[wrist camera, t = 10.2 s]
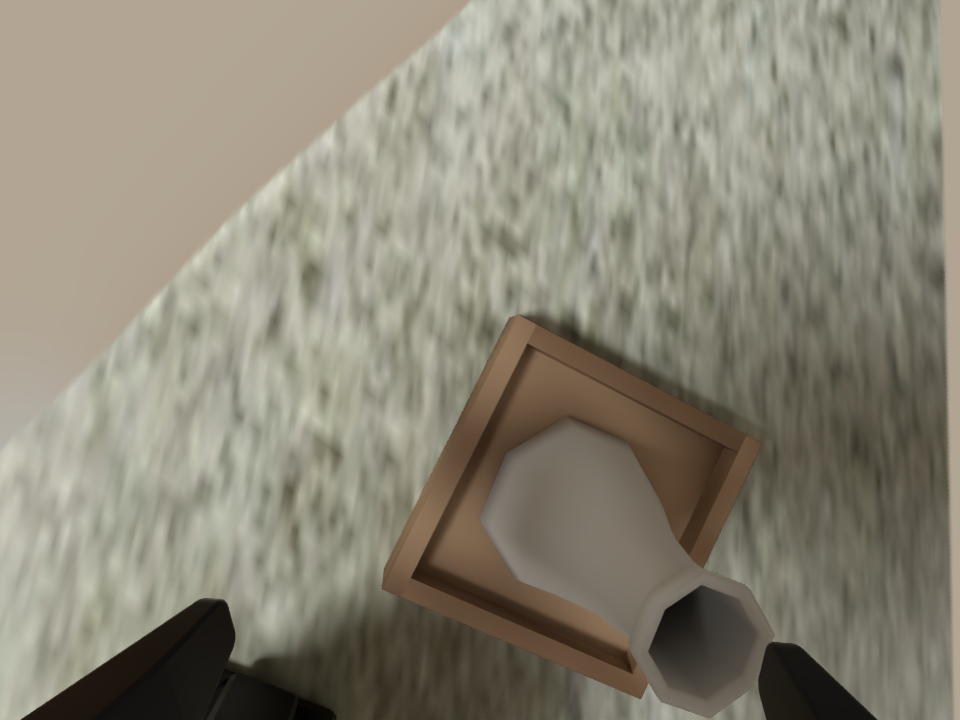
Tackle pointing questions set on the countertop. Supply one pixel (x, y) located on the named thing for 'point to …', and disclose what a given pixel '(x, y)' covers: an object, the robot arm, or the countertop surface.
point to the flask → (624, 564)
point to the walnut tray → (513, 420)
